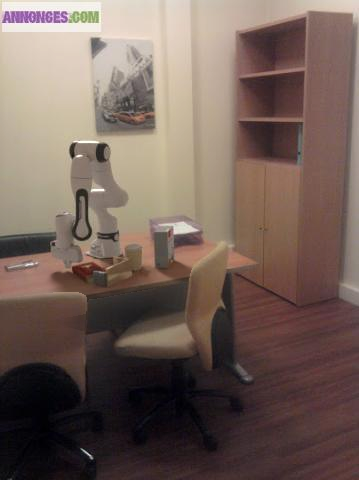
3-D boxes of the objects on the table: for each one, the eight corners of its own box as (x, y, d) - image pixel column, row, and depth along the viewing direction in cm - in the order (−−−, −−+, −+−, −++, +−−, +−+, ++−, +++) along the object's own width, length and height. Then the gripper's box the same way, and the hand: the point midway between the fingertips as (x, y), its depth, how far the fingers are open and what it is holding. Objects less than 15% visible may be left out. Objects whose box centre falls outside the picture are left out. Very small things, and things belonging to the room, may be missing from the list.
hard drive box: (168, 268, 245) (167, 232, 239) (154, 268, 246) (152, 232, 241) (174, 259, 259) (173, 225, 254) (161, 259, 261) (159, 224, 255)
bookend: (94, 284, 225) (92, 271, 223) (96, 283, 226) (95, 270, 224) (105, 287, 221) (103, 273, 219) (107, 286, 223) (105, 272, 221)
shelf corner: (93, 283, 227) (91, 265, 225) (116, 272, 241) (114, 256, 239) (109, 286, 222) (108, 269, 219) (132, 275, 236) (130, 258, 234)
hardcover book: (87, 284, 228) (86, 276, 227) (72, 273, 245) (71, 265, 244) (109, 279, 234) (108, 271, 233) (93, 268, 251) (92, 261, 250)
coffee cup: (146, 267, 248) (145, 245, 245) (134, 271, 242) (132, 249, 238) (134, 263, 254) (133, 243, 251) (122, 268, 247) (120, 247, 244)
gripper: (84, 243, 240) (86, 269, 243) (56, 239, 251) (59, 263, 254) (75, 247, 235) (78, 272, 238) (47, 242, 245) (50, 266, 249)
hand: (68, 268), depth 246 cm, fingers closed
